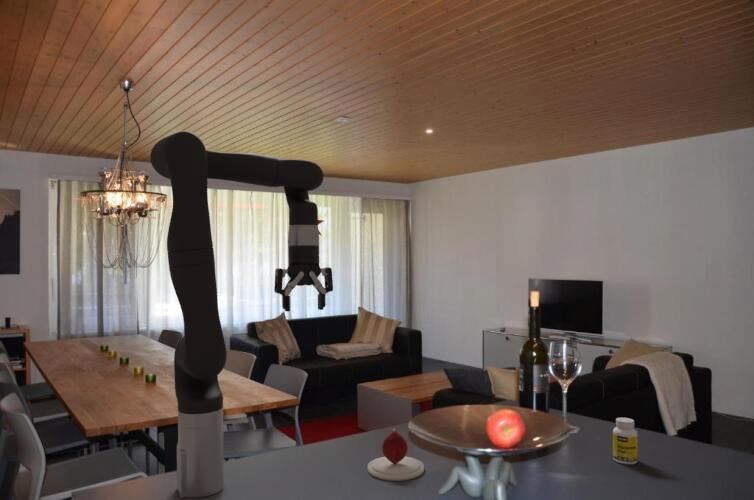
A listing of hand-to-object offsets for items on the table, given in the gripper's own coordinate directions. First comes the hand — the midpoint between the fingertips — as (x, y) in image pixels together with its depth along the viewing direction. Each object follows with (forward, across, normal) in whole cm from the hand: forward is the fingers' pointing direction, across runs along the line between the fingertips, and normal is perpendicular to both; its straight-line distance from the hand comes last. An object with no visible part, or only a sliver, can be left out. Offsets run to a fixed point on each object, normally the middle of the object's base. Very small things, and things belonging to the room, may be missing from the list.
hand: (304, 310), depth 143 cm
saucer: (+36, +16, -17) cm, 43 cm away
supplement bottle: (+36, +67, -37) cm, 85 cm away
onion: (+35, +16, -17) cm, 42 cm away
